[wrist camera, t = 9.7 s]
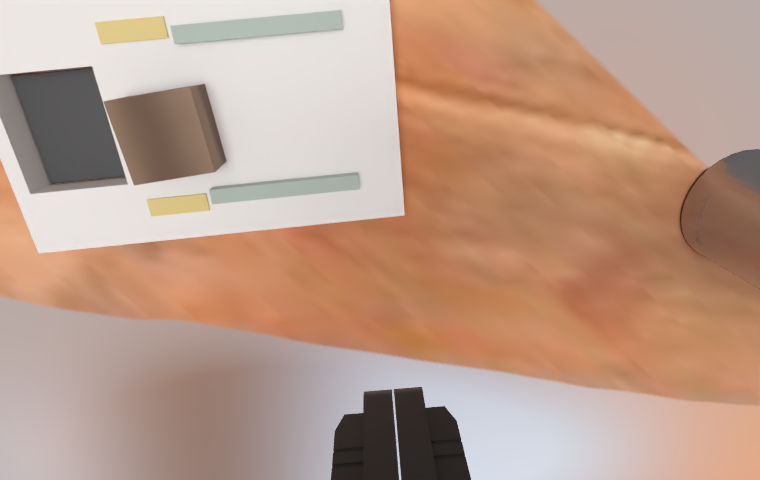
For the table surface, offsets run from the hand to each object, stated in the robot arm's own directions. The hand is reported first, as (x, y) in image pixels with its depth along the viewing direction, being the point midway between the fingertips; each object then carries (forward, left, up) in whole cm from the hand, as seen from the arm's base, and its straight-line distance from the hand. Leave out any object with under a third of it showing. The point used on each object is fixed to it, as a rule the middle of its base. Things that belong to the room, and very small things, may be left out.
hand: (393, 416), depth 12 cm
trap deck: (+10, -6, -25) cm, 27 cm away
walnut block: (+12, -5, -22) cm, 25 cm away
